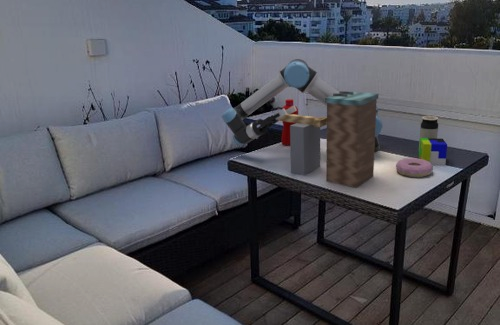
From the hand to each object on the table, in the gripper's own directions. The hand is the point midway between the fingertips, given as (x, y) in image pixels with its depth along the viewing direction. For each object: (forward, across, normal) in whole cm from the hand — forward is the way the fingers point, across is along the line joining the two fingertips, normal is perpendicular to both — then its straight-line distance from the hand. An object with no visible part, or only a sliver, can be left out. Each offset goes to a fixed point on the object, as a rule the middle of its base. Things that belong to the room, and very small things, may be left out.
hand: (290, 109), depth 200 cm
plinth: (-7, 0, -28) cm, 29 cm away
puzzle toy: (+31, -40, -50) cm, 71 cm away
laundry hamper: (+13, 0, -39) cm, 41 cm away
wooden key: (+2, 0, -8) cm, 8 cm away
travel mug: (+26, -52, -47) cm, 75 cm away
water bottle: (-33, -32, -13) cm, 48 cm away
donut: (+30, -22, -49) cm, 61 cm away
